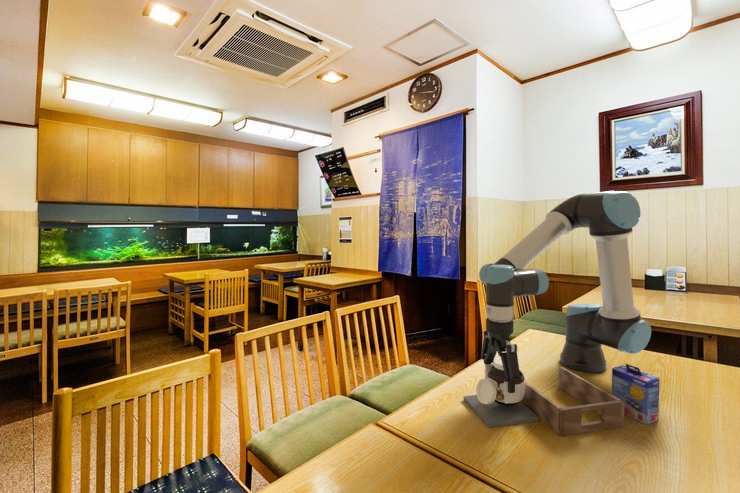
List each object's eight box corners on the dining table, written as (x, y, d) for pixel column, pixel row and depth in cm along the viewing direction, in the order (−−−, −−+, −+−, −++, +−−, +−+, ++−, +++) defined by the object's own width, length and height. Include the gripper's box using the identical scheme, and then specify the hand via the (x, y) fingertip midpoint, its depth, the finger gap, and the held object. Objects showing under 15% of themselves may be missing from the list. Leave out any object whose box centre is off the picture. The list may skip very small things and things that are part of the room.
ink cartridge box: (609, 407, 104) (611, 359, 103) (621, 403, 106) (623, 356, 105) (646, 425, 95) (648, 373, 93) (659, 420, 97) (661, 369, 96)
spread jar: (527, 400, 103) (528, 362, 102) (513, 417, 95) (513, 375, 94) (488, 388, 111) (488, 352, 110) (471, 402, 103) (471, 363, 102)
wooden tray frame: (509, 393, 113) (509, 372, 113) (561, 387, 117) (562, 366, 116) (560, 436, 91) (561, 410, 90) (623, 426, 94) (624, 401, 94)
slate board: (463, 400, 110) (463, 396, 110) (507, 394, 112) (507, 391, 112) (488, 427, 95) (488, 423, 95) (538, 420, 98) (538, 416, 98)
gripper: (469, 309, 112) (469, 378, 114) (510, 331, 90) (509, 415, 92) (491, 308, 113) (490, 375, 115) (536, 329, 91) (535, 412, 93)
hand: (498, 393), depth 103 cm, fingers closed on spread jar, 10 cm apart
